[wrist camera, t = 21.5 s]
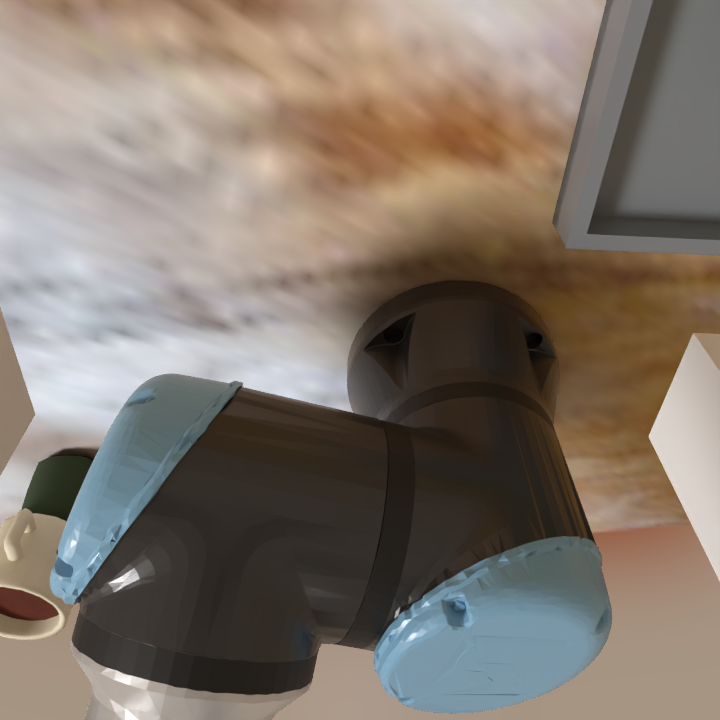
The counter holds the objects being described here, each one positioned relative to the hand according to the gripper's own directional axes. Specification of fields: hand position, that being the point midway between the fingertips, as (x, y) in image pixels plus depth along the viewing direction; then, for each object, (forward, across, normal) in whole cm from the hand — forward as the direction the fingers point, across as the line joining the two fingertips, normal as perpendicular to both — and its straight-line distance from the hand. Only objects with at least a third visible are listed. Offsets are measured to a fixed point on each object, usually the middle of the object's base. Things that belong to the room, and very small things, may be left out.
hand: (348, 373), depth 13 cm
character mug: (+29, +22, +35) cm, 50 cm away
